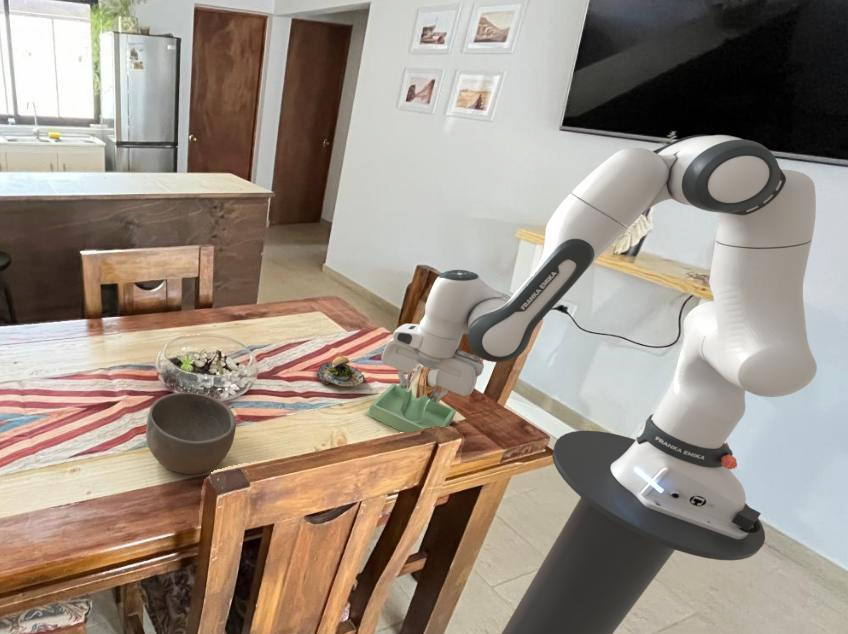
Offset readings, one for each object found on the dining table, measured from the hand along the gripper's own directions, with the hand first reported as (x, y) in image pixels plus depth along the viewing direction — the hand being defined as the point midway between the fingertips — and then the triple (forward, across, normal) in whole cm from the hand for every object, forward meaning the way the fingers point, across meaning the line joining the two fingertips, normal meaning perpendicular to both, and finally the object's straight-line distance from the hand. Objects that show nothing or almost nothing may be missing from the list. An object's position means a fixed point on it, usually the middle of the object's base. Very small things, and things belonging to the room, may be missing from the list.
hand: (418, 394), depth 119 cm
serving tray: (+7, 0, 0) cm, 7 cm away
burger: (+7, +20, -3) cm, 21 cm away
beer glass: (+6, 0, 0) cm, 6 cm away
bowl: (+7, +28, +48) cm, 56 cm away
